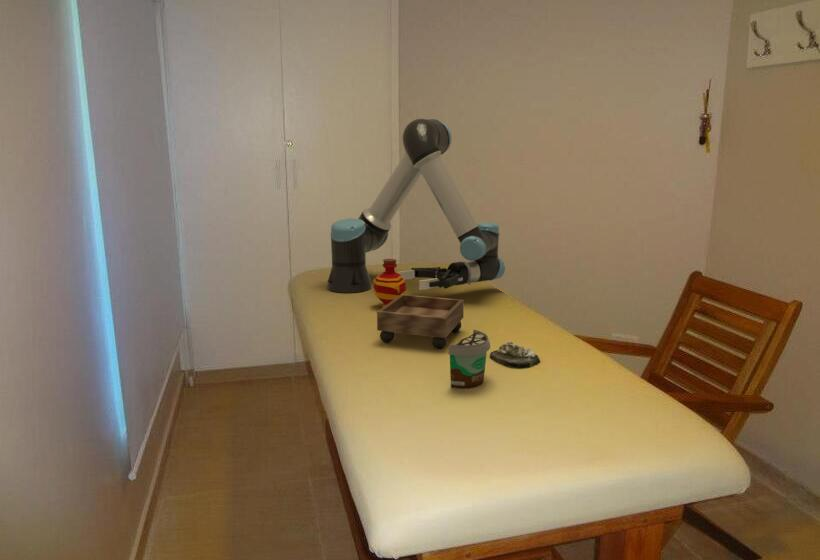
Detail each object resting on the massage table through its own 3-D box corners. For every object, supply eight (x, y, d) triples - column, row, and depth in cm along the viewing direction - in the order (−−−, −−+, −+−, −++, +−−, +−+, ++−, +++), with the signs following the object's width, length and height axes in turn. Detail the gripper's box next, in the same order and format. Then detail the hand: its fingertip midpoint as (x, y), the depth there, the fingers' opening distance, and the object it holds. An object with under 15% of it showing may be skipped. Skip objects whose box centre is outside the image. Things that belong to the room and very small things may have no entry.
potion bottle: (408, 303, 191) (408, 257, 187) (404, 312, 181) (404, 264, 177) (375, 302, 192) (374, 256, 188) (370, 311, 182) (369, 263, 178)
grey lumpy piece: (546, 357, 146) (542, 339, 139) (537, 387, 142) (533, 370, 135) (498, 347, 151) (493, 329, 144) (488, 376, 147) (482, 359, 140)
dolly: (377, 343, 154) (377, 311, 152) (401, 323, 170) (401, 294, 168) (445, 352, 148) (445, 318, 146) (463, 330, 165) (463, 299, 163)
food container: (473, 396, 123) (475, 350, 121) (447, 389, 126) (448, 344, 124) (498, 376, 133) (500, 333, 131) (473, 370, 137) (474, 328, 134)
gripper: (486, 292, 188) (429, 301, 177) (441, 276, 209) (388, 284, 198) (487, 268, 186) (429, 277, 176) (441, 255, 207) (388, 261, 196)
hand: (407, 280), depth 187 cm, fingers open, 13 cm apart
